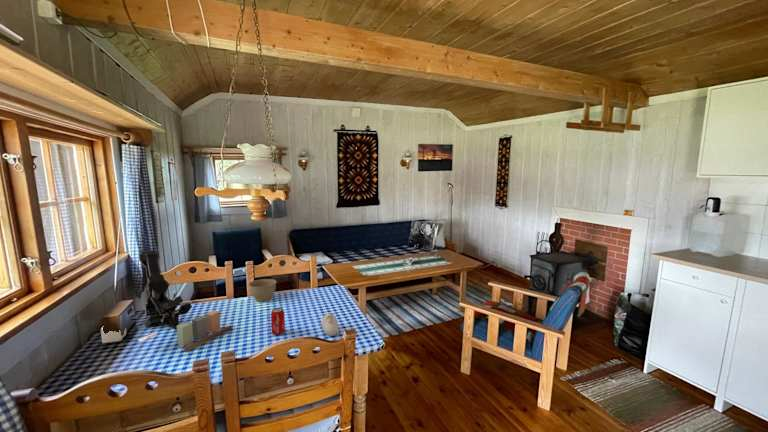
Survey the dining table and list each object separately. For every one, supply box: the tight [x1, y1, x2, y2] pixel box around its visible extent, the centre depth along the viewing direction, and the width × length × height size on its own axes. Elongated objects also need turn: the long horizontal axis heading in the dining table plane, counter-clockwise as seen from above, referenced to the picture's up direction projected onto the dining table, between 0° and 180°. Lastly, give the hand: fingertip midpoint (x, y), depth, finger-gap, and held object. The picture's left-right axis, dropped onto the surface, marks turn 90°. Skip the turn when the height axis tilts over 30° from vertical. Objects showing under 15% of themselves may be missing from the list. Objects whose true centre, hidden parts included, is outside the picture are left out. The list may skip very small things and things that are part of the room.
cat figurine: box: [320, 312, 340, 337], centre depth 158 cm, size 10×8×15 cm
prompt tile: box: [137, 332, 158, 343], centre depth 149 cm, size 12×7×1 cm, turn 65°
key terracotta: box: [205, 310, 221, 334], centre depth 156 cm, size 4×4×9 cm
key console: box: [183, 324, 233, 353], centre depth 150 cm, size 12×23×3 cm, turn 155°
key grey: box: [191, 315, 208, 341], centre depth 150 cm, size 4×4×9 cm
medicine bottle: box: [100, 327, 127, 344], centre depth 149 cm, size 7×7×12 cm
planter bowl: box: [248, 278, 277, 303], centre depth 199 cm, size 16×16×11 cm
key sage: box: [176, 321, 194, 348], centre depth 144 cm, size 4×4×9 cm
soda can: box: [270, 307, 286, 336], centre depth 156 cm, size 6×6×12 cm
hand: (178, 329), depth 146 cm, fingers closed
